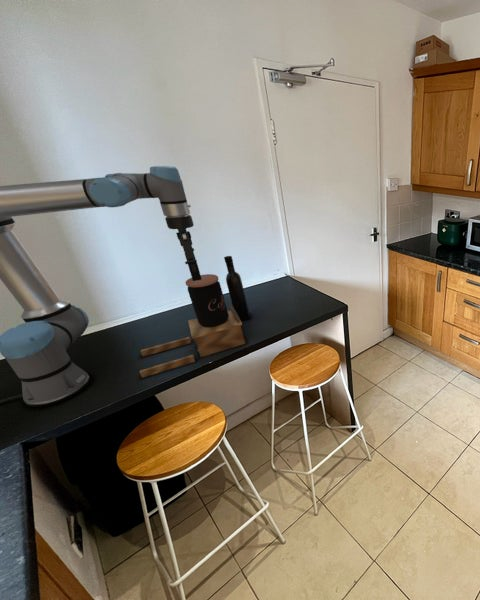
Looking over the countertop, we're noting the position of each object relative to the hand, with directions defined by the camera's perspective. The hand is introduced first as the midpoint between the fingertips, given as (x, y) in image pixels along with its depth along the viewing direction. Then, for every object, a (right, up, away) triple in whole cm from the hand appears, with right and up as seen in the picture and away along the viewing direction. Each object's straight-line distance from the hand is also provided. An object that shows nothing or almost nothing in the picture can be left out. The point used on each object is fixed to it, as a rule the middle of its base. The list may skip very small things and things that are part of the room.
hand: (195, 274), depth 115 cm
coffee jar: (+2, -18, +9) cm, 20 cm away
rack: (-5, -29, +9) cm, 31 cm away
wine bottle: (+2, -18, +32) cm, 37 cm away
